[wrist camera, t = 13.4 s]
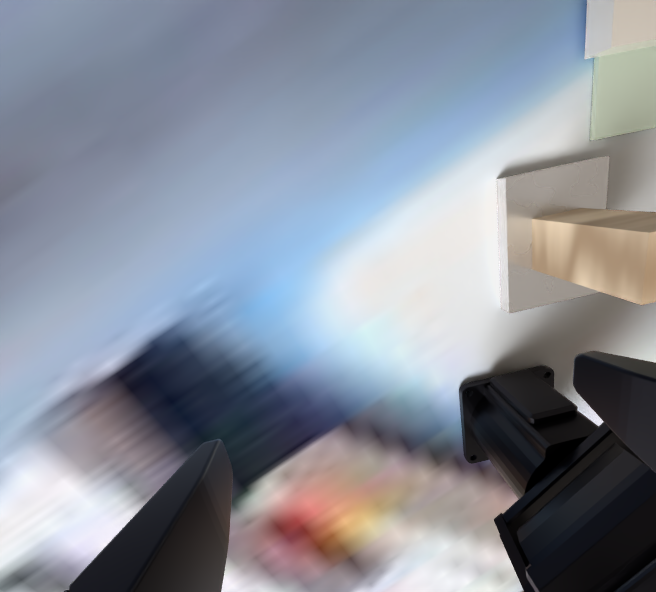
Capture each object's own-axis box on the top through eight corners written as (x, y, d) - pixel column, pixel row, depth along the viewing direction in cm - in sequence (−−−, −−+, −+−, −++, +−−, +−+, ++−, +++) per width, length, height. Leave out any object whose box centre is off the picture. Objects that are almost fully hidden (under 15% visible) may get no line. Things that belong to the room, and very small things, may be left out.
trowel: (587, 287, 22) (731, 334, 15) (499, 308, 22) (602, 365, 14) (593, 157, 19) (772, 138, 12) (494, 179, 19) (617, 172, 12)
